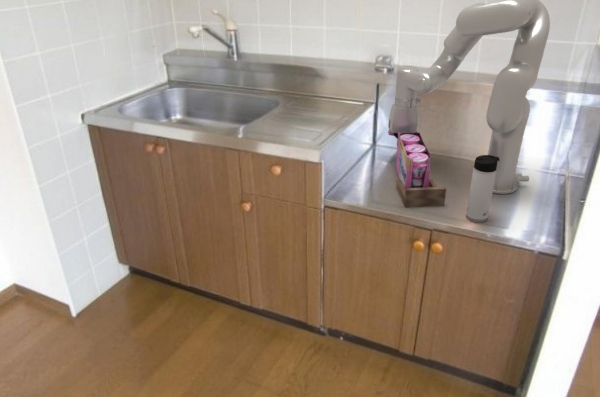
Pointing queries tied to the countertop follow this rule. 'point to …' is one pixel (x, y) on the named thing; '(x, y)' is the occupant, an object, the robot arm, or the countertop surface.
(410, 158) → the gum box
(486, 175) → the travel mug
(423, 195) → the brown wooden open box
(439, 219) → the countertop surface
